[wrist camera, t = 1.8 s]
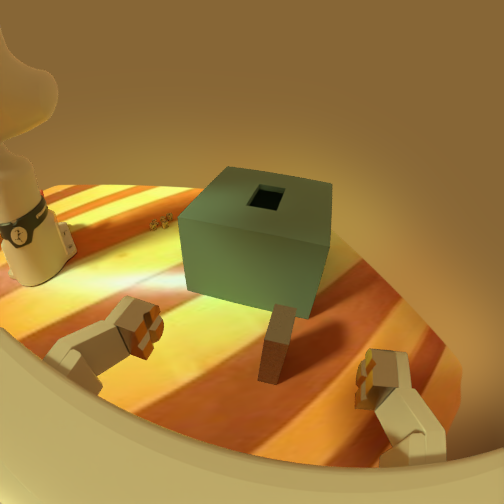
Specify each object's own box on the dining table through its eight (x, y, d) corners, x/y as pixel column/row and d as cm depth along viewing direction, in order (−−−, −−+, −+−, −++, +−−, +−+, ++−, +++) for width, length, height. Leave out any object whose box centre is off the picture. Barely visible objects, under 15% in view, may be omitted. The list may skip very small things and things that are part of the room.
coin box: (308, 319, 41) (329, 246, 32) (187, 290, 44) (177, 216, 36) (318, 245, 56) (332, 183, 48) (227, 226, 60) (227, 166, 51)
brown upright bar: (276, 385, 32) (288, 345, 26) (257, 380, 33) (264, 339, 26) (284, 354, 36) (296, 308, 30) (266, 350, 36) (274, 303, 30)
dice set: (173, 219, 62) (172, 212, 61) (171, 231, 58) (170, 224, 57) (152, 220, 62) (151, 213, 60) (149, 233, 58) (148, 225, 57)
